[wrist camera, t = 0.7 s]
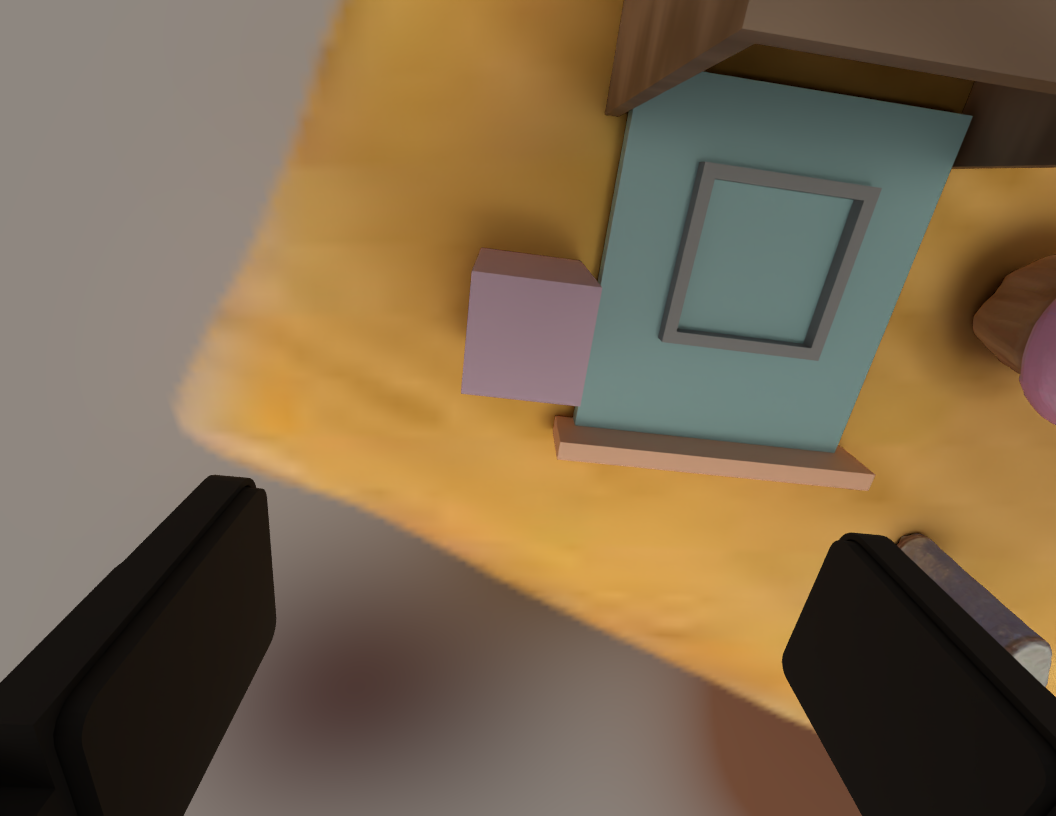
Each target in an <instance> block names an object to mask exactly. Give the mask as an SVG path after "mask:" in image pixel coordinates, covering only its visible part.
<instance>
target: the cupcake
mask: <svg viewBox="0 0 1056 816" xmlns="http://www.w3.org/2000/svg"><path fill="white" fill-rule="evenodd" d="M973 331H974V334H975V335H976V336H977V338H978V339H980V340H981V341H982V342H983V343H984V345H985V346H986V347H987V348H988V349H989V350H990V351H991V352H992V353H994V354H995V355H996V357H997V358H998V360H999V361H1001V362H1002V363H1004V364H1005V365H1007V366H1009V367H1010V368H1011V369H1013V370H1014V371H1016V372H1017V373H1019V374H1020V377H1019V381H1020V384H1021V386H1022V389H1023V391H1024V395H1025V397H1026V398H1027V400H1028V401H1029V402H1030V404H1031V405H1032V406H1033V408H1034V409H1035V410H1036V411H1037V412H1038V413H1039V414H1040V415H1041V416H1042V417H1044V418H1045V419H1046V420H1048V421H1049V422H1051V423H1053V424H1055V425H1056V254H1055V255H1050V256H1047V257H1044V258H1041V259H1039V260H1037V261H1035V262H1033V263H1030V264H1028V265H1026V266H1025V267H1023V268H1021V269H1018V270H1015V271H1013V272H1012V273H1010V274H1008V275H1006V276H1005V278H1004V280H1003V282H1002V284H1001V285H1000V287H999V288H998V289H997V291H996V292H995V293H994V294H993V295H992V296H991V297H990V298H989V299H988V300H987V301H986V302H985V303H984V304H983V305H982V306H981V307H980V309H979V310H978V311H977V312H976V314H975V315H974V317H973Z"/></svg>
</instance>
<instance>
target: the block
mask: <svg viewBox="0 0 1056 816" xmlns="http://www.w3.org/2000/svg"><path fill="white" fill-rule="evenodd" d="M601 292H602V287H601V285H600V284H599V283H598V282H597V280H596V279H595V278H594V277H593V276H592V274H591V273H590V272H589V271H588V269H587V268H586V267H585V266H584V264H583V263H582V262H581V261H579V260H572V259H564V258H556V257H549V256H541V255H534V254H526V253H519V252H511V251H503V250H496V249H488V248H481V249H480V252H479V254H478V257H477V259H476V262H475V264H474V267H473V269H472V275H471V286H470V298H469V309H468V320H467V332H466V343H465V354H464V366H463V377H462V389H461V394H470V395H479V396H489V397H498V398H507V399H516V400H525V401H534V402H543V403H552V404H561V405H571V406H580V405H581V400H582V394H583V389H584V384H585V378H586V373H587V367H588V362H589V357H590V351H591V346H592V341H593V335H594V330H595V325H596V319H597V314H598V308H599V303H600V298H601Z"/></svg>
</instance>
